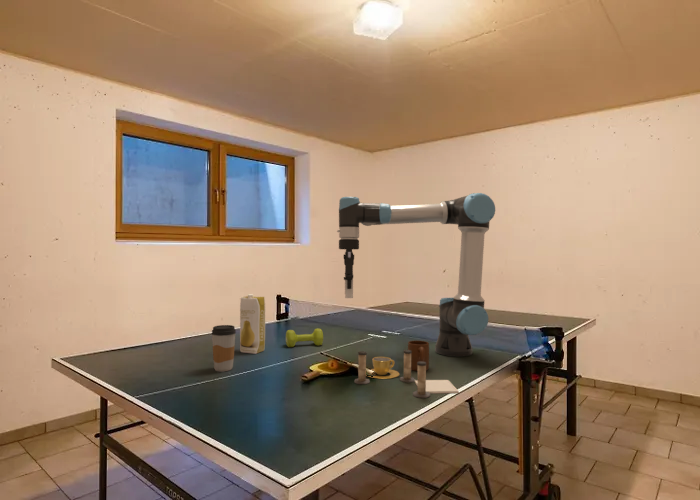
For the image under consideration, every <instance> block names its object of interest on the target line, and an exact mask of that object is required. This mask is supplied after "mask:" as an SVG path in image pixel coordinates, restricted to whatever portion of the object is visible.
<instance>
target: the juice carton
mask: <svg viewBox="0 0 700 500" xmlns="http://www.w3.org/2000/svg"><path fill="white" fill-rule="evenodd" d="M239 312H240V313H239V346H240V347H239V349H240V351H239V352H241V353H245V354H253V355H256V354H259V353H261V352H264V351H265V347H266V346H265V345H266V297H265V296H255V294H254V293H249V294H247V295H246V296H241V297H240V305H239Z"/></svg>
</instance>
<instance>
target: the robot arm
mask: <svg viewBox="0 0 700 500" xmlns="http://www.w3.org/2000/svg"><path fill="white" fill-rule="evenodd" d="M338 206H339V207H338V227H339V228H338V229H337V231H336V232H337V233H338V238H339V240H338V249H339V250H345V251H344V254H343V263H344V267H345V268H344V270H345V271H344V277H343V280H344V295H345V296H344V298H345V299H353V298H354V264H355V261H354V260H355V254H354V252H353V250H359V249H360V240H359V238H360V224H361V225H363V226H367V227H370V226H380V225H381V226H382V225H396V224H397V225H399V224H400V225H402V224H421V223H423V224H424V223H440V224H441V225H457V228H458V230H459V231H460V232H461V236H460V237H461V238H460V251H459V252H460V253H459V256H460V257H459V266H458V267H459V268H458V269H459V270H458V284H457V285H458V286H457V294H456V295H455V296H453V297H442V298H441V299H440V300H439V306H438V307H439V331H438V332H439V334H438V336H437V338H436V339H437V340H436V343H435V345H434V351H435V353H436V354H439V355H442V356H447V357H468V356H471V355H473V346H472V343H471V339H470V337H469V336H477V335H480V334H482V332H483V331H485V330H486V329H487V327H488V324H489V313H488V312H487V310H486V309H485V299H484V298H483V296H482V295H481V294H482V279H483V264H484V248H485V247H484V246H485V234H486V232H488V231H489V229H490V221H491V220H492V219H493V218H494V216H495V214H496V204H495V202H494V200H493V199H492V198H491V196H489V195H487V194H486V193H482V192H476V193H475V192H474V193H469V194H468V195H464V196H461V197H458V198H455V199H451V200H442V201H440V203H427V204H425V203H423V204H402V205H400V204H399V205H391V204H389V203H385V202H384V203H383V202H379V203H377V202H376V203H373V202H370V203H369V202H368V203H366V202H361V201H360V198H359V197H357V196H344V197H343V196H342V197H341V198H340V199H339V205H338Z"/></svg>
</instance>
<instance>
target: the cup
mask: <svg viewBox="0 0 700 500" xmlns="http://www.w3.org/2000/svg"><path fill="white" fill-rule="evenodd" d="M395 365H396V364H395V360H393V359H391V357H387V356H375V357H373V358H372V366H373V368H370V369H371V370H373V371H375V372H374V373H376V374H377V375H376V374H375V375H376V376H373V377H371V376H368V377H369V378H374V379H383V380H385V379H393V378H397V377H399V376H400V372H399V371H397V370H395V369H393V368H394V366H395ZM388 373H389V375H388Z"/></svg>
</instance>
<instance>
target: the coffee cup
mask: <svg viewBox="0 0 700 500" xmlns="http://www.w3.org/2000/svg"><path fill="white" fill-rule="evenodd" d="M236 330H237V329H236V328H235V326H234V325H231V324H230V325H229V324H223V325H222V324H221V325H215V326H213V327H212V329H211V335H212V336H211V338H212V339H211V340H212V356H213V357H212V359H213V368H214V370H215V372H220V373H221V372H229V371H232V370H233V368H234V357H235V347H236V346H235V345H236V344H235V343H236V342H235V341H236V333H237V331H236Z"/></svg>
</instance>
